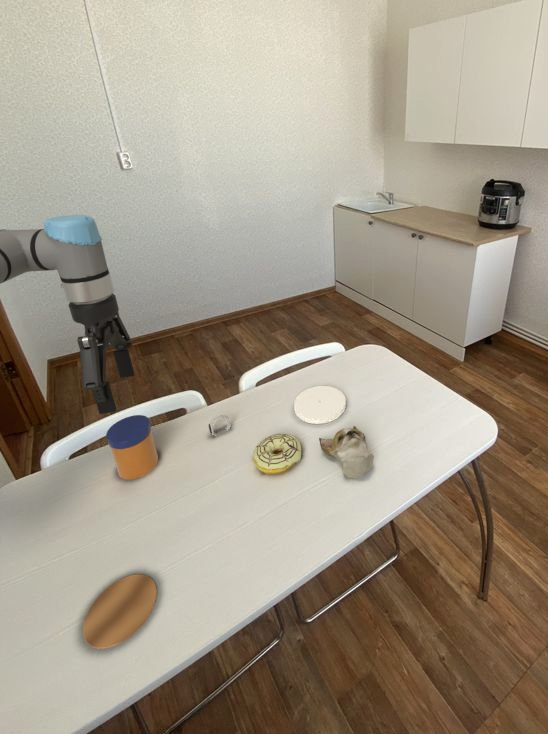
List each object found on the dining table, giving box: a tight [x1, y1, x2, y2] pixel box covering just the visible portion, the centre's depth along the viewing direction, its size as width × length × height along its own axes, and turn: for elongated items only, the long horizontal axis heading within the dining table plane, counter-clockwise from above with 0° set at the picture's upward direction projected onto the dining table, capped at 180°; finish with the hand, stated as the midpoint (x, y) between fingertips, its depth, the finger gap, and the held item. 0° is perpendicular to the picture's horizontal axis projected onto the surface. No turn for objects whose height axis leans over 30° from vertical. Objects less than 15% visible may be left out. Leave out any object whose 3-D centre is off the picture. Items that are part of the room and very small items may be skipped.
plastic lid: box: [293, 385, 347, 425], centre depth 104 cm, size 14×14×2 cm
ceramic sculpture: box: [318, 425, 375, 479], centre depth 87 cm, size 11×9×15 cm
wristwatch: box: [208, 414, 232, 437], centre depth 96 cm, size 3×5×5 cm, turn 127°
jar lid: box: [105, 414, 152, 449], centre depth 84 cm, size 8×8×2 cm
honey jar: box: [109, 430, 159, 481], centre depth 85 cm, size 8×8×11 cm
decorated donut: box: [252, 433, 302, 476], centre depth 88 cm, size 10×11×4 cm
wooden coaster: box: [82, 573, 158, 650], centre depth 60 cm, size 10×10×1 cm
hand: (118, 392), depth 80 cm, fingers open, 12 cm apart
